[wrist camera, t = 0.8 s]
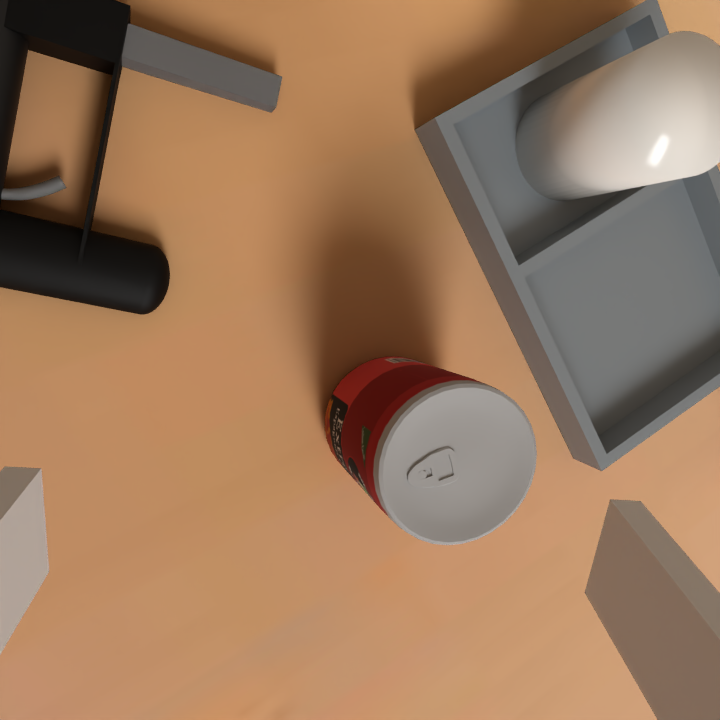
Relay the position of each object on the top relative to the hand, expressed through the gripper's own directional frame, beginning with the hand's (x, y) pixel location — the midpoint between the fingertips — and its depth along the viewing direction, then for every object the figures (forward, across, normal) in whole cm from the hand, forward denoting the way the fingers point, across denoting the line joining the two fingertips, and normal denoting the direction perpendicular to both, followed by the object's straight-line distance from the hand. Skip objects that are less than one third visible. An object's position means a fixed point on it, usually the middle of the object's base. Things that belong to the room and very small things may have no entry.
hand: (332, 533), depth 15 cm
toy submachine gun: (+24, -12, +8) cm, 28 cm away
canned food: (+23, +4, -8) cm, 25 cm away
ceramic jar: (+28, +14, +9) cm, 33 cm away
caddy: (+28, +18, +3) cm, 34 cm away
